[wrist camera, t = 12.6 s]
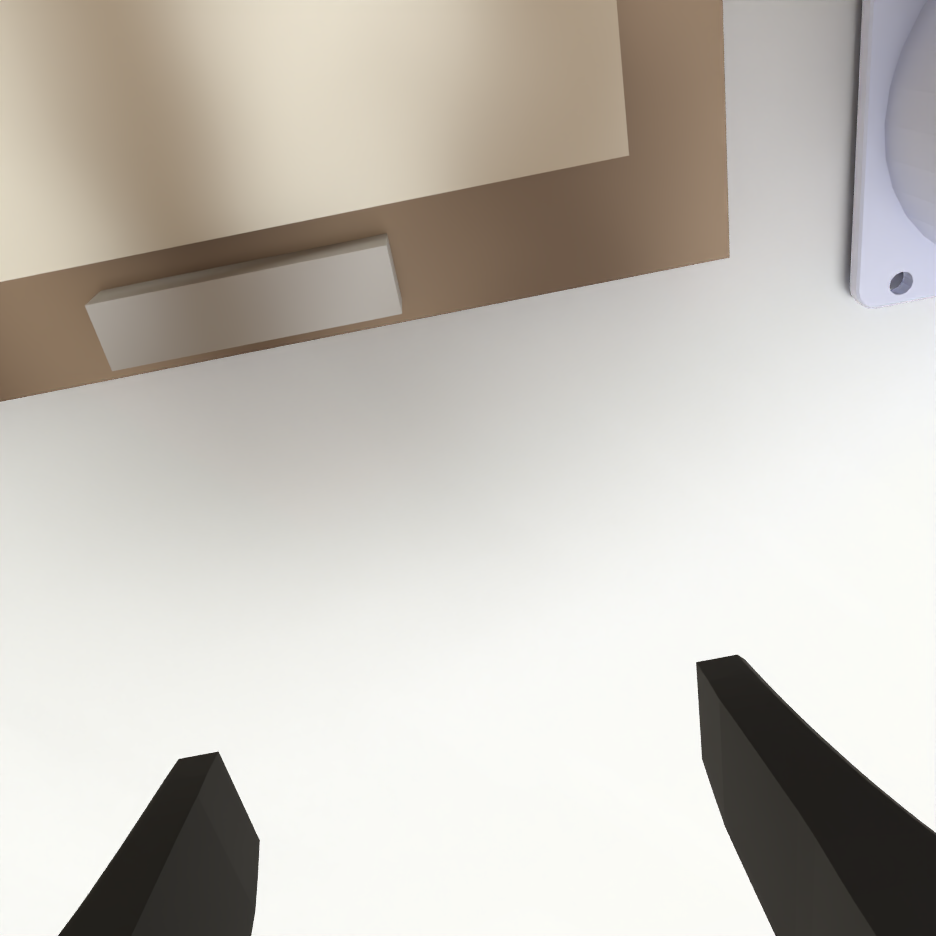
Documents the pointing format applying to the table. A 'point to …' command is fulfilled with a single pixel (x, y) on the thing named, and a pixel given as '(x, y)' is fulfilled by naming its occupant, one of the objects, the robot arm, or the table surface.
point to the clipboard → (336, 167)
